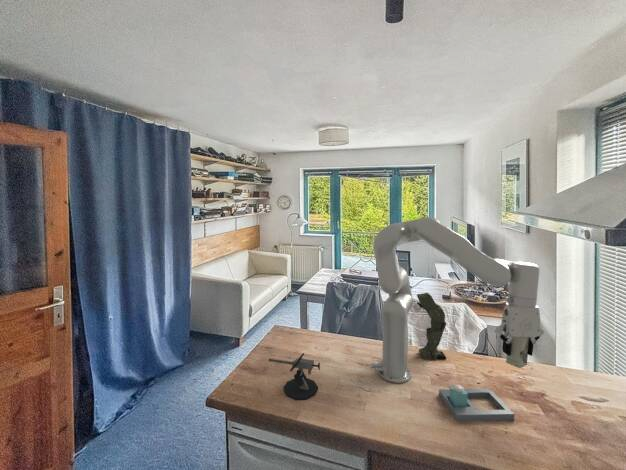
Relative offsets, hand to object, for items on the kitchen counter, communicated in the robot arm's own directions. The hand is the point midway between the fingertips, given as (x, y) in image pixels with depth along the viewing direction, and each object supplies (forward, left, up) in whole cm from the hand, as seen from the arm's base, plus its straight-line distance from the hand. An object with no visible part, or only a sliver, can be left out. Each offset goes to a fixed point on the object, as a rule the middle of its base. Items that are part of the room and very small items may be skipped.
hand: (517, 353), depth 100 cm
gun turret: (-75, +12, -19) cm, 78 cm away
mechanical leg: (-15, +34, -19) cm, 41 cm away
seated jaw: (-19, 0, -18) cm, 26 cm away
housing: (-14, 0, -18) cm, 23 cm away
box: (0, 0, -4) cm, 4 cm away
